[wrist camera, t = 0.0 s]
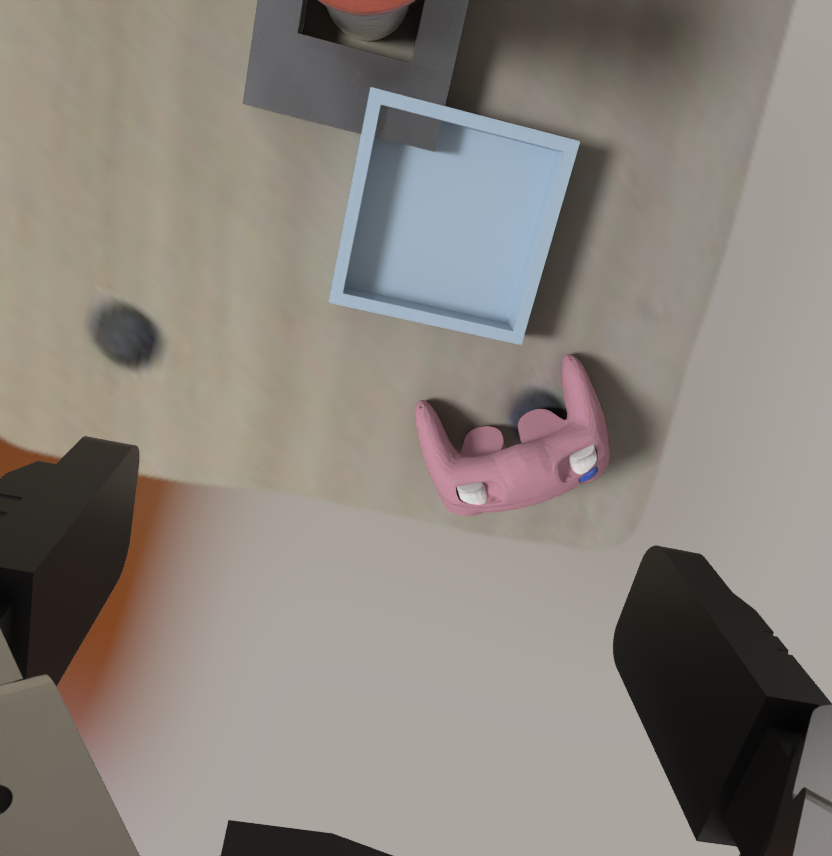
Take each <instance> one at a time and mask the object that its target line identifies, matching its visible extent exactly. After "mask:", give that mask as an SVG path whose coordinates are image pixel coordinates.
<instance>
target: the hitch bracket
mask: <svg viewBox="0 0 832 856" xmlns="http://www.w3.org/2000/svg"><path fill="white" fill-rule="evenodd" d="M307 2H308V0H258V1H257V8H256V15H255V22H254V29H253V36H252V43H251V50H250V57H249V64H248V71H247V78H246V85H245V92H244V99H243V104H245V105H249V106H252V107H256V108H260V109H264V110H268V111H272V112H276V113H280V114H284V115H288V116H292V117H296V118H300V119H304V120H308V121H312V122H316V123H320V124H324V125H328V126H332V127H336V128H340V129H344V130H348V131H352V132H356V133H360V134H361V133H362V128H363V123H364V118H365V113H366V108H367V102H368V97H369V92H370V87H373V88H377V89H380V90H384V91H388V92H392V93H396V94H400V95H403V96H407V97H411V98H415V99H419V100H423V101H427V102H430V103H434V104H438V105H442V106H445V104H446V100H447V96H448V91H449V87H450V83H451V78H452V74H453V69H454V65H455V61H456V56H457V52H458V47H459V43H460V39H461V34H462V30H463V26H464V21H465V17H466V12H467V8H468V4H469V0H424V2H423V7H422V12H421V16H420V21H419V26H418V31H417V36H416V40H415V45H414V50H413V55H412V59H411V63H408V62H404V61H400V60H397V59H393V58H389V57H385V56H382V55H378V54H374V53H370V52H366V51H363V50H359V49H355V48H351V47H348V46H344V45H340V44H336V43H333V42H329V41H325V40H321V39H317V38H314V37H310V36H306V35H302V33H303V27H304V21H305V15H306V8H307ZM441 122H442V120H438V119H434V118H430V117H426V116H422V115H418V114H414V113H411V112H407V111H403V110H399V109H395V108H391V107H387V106H383V105H381V106H380V111H379V116H378V120H377V125H376V130H375V135H374V137H376V138H380V139H384V140H388V141H392V142H396V143H400V144H404V145H408V146H412V147H416V148H420V149H424V150H428V151H432V152H435V148H436V144H437V140H438V135H439V131H440V126H441Z"/></svg>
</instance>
